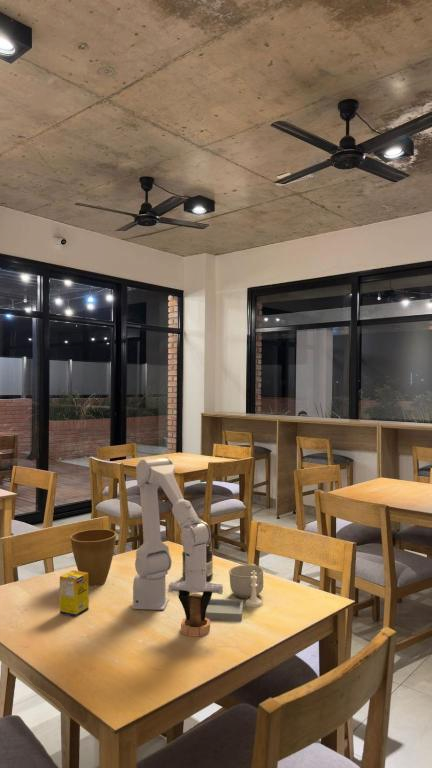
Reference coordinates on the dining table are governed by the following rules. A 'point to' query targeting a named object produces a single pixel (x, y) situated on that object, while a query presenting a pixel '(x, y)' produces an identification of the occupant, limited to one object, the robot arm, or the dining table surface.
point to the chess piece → (253, 593)
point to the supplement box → (74, 593)
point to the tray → (225, 609)
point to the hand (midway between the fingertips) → (195, 618)
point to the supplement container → (208, 562)
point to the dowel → (195, 610)
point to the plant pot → (94, 553)
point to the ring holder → (195, 628)
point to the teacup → (245, 580)
